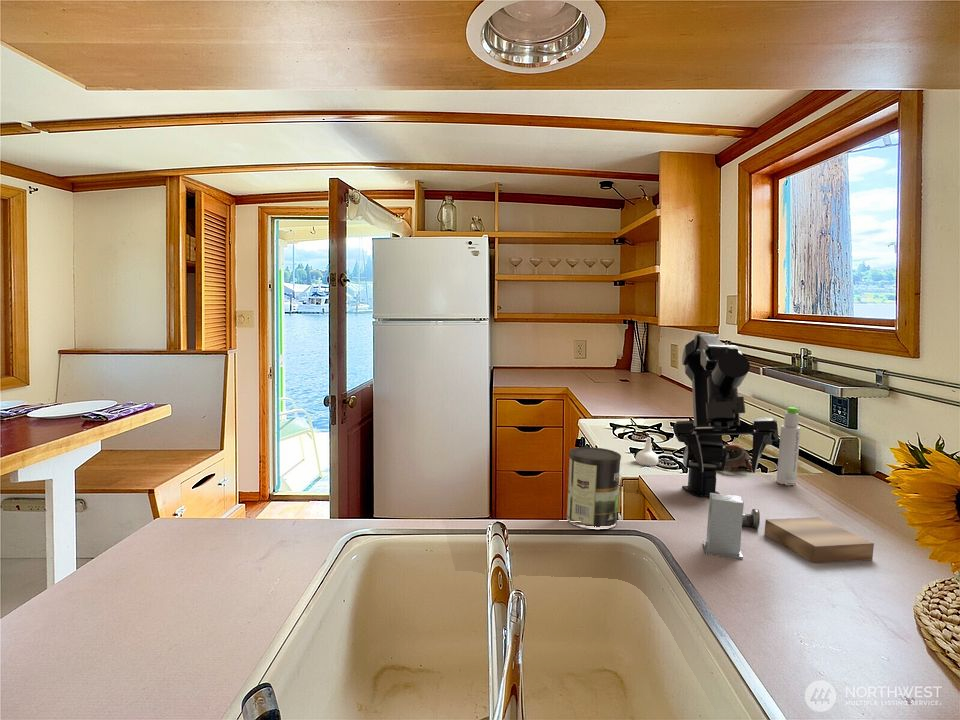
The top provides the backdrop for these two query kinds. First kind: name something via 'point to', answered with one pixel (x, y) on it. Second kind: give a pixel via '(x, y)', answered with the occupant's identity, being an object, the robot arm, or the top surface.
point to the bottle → (789, 448)
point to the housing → (724, 526)
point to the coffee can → (593, 486)
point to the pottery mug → (737, 457)
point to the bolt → (751, 519)
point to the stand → (819, 540)
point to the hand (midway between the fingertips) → (727, 472)
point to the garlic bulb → (647, 455)
